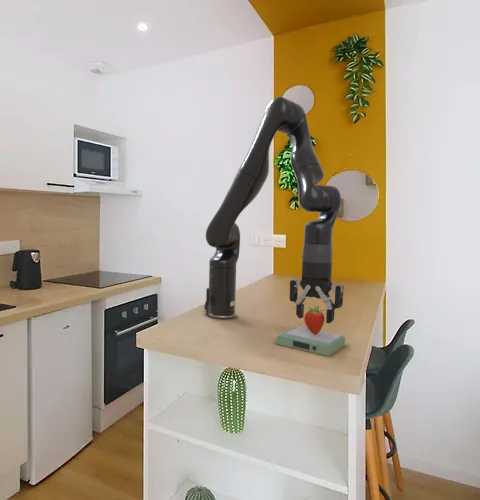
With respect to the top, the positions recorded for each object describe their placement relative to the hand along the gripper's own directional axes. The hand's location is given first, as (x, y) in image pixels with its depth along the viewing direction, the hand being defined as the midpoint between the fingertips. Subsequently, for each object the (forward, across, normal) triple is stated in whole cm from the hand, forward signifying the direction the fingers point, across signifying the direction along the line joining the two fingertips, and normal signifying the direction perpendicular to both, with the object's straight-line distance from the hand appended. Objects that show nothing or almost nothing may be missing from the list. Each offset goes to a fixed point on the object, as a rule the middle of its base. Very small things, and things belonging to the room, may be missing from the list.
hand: (314, 320), depth 114 cm
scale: (+7, +1, 0) cm, 7 cm away
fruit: (+4, 0, 0) cm, 4 cm away
